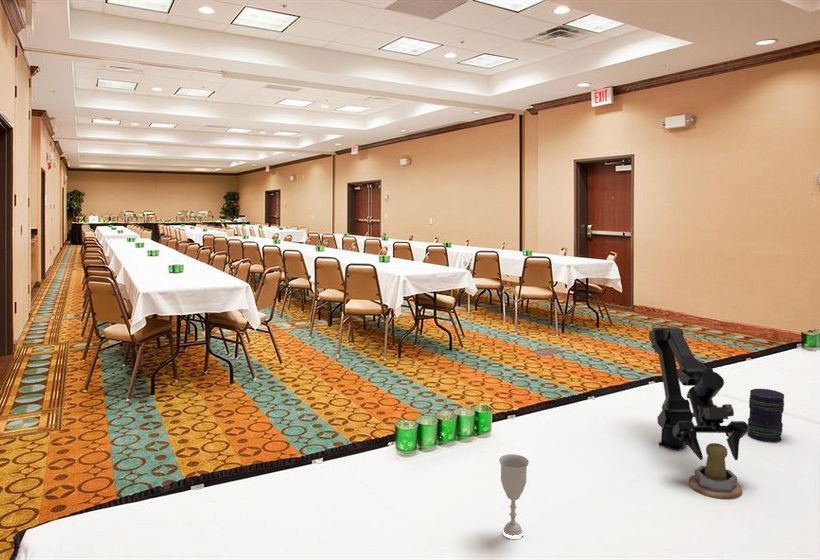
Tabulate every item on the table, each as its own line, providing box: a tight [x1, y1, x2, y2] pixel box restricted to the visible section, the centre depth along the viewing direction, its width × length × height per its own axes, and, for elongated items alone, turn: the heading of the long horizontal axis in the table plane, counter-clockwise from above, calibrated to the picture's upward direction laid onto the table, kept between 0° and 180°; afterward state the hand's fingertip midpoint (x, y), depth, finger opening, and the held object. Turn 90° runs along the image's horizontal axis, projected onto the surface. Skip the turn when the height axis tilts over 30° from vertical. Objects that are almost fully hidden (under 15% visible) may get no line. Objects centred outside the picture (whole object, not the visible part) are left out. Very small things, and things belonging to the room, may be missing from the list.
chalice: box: [498, 453, 530, 536], centre depth 140 cm, size 7×7×18 cm
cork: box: [704, 442, 728, 480], centre depth 162 cm, size 6×6×11 cm
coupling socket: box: [688, 465, 743, 500], centre depth 163 cm, size 13×13×4 cm
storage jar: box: [747, 388, 785, 444], centre depth 197 cm, size 10×10×15 cm
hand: (719, 459), depth 161 cm, fingers open, 9 cm apart
